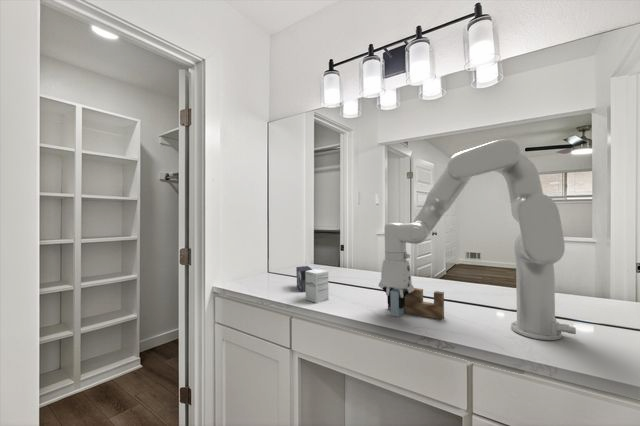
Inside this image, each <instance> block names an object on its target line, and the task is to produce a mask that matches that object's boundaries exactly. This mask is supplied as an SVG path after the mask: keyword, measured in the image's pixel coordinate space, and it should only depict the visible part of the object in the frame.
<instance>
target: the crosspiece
mask: <svg viewBox="0 0 640 426" xmlns="http://www.w3.org/2000/svg"><path fill="white" fill-rule="evenodd" d="M399 297H400V291H399V289H397V288H394V289H392V290H391V291H390V300H391V310H390V316H393V317H396V316H397V317H396V318H399V317H401V316H402V315H403V314H404V313H405V312H404V307H403V308H402V309H400V308H399ZM405 300H406V296H405Z"/></svg>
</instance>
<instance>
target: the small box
mask: <svg viewBox="0 0 640 426" xmlns="http://www.w3.org/2000/svg"><path fill="white" fill-rule="evenodd" d="M308 270H314V269H313V268H311V267H310V266H309V265H305V266H303V265H302V266H296V270H295V271H296V288H297V289H298V291H300V292H301V293H306V275H305V271H308Z"/></svg>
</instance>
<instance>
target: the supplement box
mask: <svg viewBox="0 0 640 426" xmlns="http://www.w3.org/2000/svg"><path fill="white" fill-rule="evenodd" d="M305 275H306V292H305V301H310V302H312V303H315V304H319V303H318V302H320V303H323V302H326V300H327V301H329V271H328V270H325V269H320V268H319V269H318V268H315V269H313V270H308V271H305ZM322 301H323V302H322Z"/></svg>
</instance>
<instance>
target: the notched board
mask: <svg viewBox="0 0 640 426" xmlns="http://www.w3.org/2000/svg"><path fill="white" fill-rule="evenodd" d="M392 289H394V288H392ZM408 289H409V287H408V288H407V289H406V290H408ZM414 289H415V290H414V291H413V292H410V293H408V294H407V295H406V300H405V306H404V313H406V314H411V315H416V316H421V317H427V318H432V319H437V320H441V321H442V320H444V318H445V292H444V291H438V290H435V291H434V292H433V302H428V301H424V288H417V287H414ZM387 310H390V311H391V307H389V306H388V305H387Z"/></svg>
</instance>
